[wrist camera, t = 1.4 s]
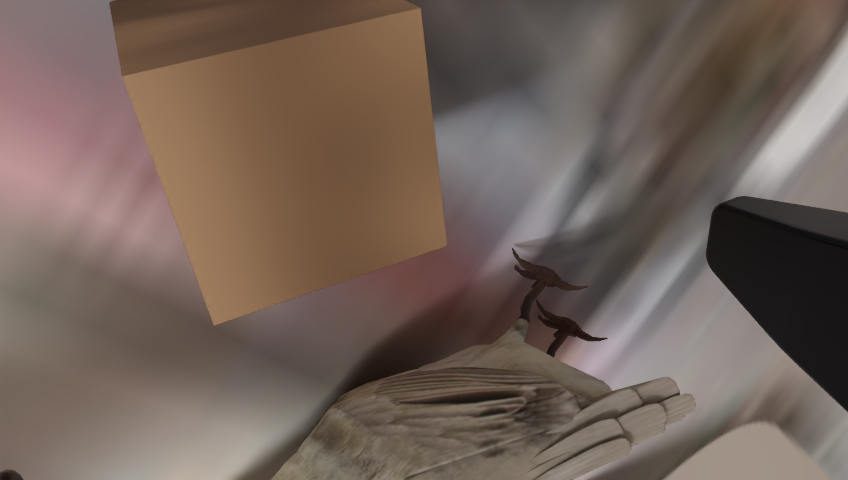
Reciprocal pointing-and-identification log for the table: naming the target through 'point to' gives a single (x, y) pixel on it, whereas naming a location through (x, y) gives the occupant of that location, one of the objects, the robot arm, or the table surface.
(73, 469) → the table surface
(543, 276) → the decorative bird
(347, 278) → the walnut block
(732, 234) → the robot arm
